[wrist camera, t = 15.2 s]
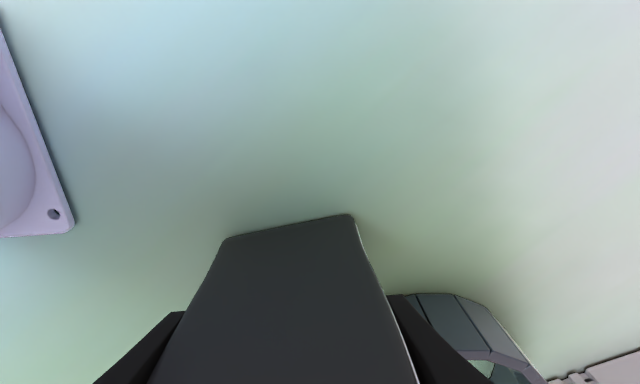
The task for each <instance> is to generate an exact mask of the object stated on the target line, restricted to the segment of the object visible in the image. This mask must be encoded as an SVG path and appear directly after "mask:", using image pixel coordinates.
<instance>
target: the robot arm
mask: <svg viewBox="0 0 640 384" xmlns="http://www.w3.org/2000/svg"><path fill="white" fill-rule="evenodd" d="M54 209H55V210H57V211H58V212H59V214H60V216H59V215H58V214H56V213H55V211H54ZM74 225H75V221H74V218H73V216H72V213H71V210H70V208H69V205H68V203H67V200H66V197H65V195H64V192H63V190H62V187H61V184H60V182H59V179H58V177H57V174H56V171H55V169H54V166H53V164H52V161H51V158H50V156H49V153H48V151H47V148H46V145H45V143H44V140H43V138H42V135H41V132H40V130H39V127H38V125H37V122H36V119H35V117H34V114H33V112H32V109H31V106H30V104H29V101H28V99H27V96H26V93H25V91H24V88H23V86H22V83H21V80H20V78H19V75H18V73H17V70H16V67H15V65H14V62H13V60H12V57H11V54H10V52H9V49H8V47H7V44H6V41H5V39H4V36H3V34H2V31H1V28H0V238H5V237H19V236H33V235H48V234H62V233H66V232H68V231H69V230H71V229H72V228H73V227H74ZM386 299H387V301H388V303H389V305H390V308H391V310H392V312H393V314H394V317H395V319H396V322H397V324H398V327H399V329H400V331H401V334H402V336H403V339H404V341H405V344H406V347H407V349H408V352H409V355H410V358H411V360H412V363H413V366H414V369H415V372H416V374H417V377H418V380H419V383H420V384H494V383H493V382H492V381H491V380H489V379H488V378H487V377H486V376H484V375H483V374H482V373H481V372H480V371H478V370H477V369H476V368H475V367H474V366H473V365H471V364H470V363H469V362H468V361H467V360H466V359H465V358H464V357H462V356H461V355H460V354H459V353H458V352H457V351H456V350H455V349H454V348H453V347H452V346H451V345H450V344H449V343H448V342H447V341H446V340H445V339H444V338H443V337H442V336H441V335H440V334H439V333H438V332H437V331H436V330H435V329H434V328H433V327H432V326H431V325H430V324H429V323H428V322H427V321H426V320H425V319H424V318H423V317H422V316H421V315H420V313H419V312H418V311H417V310H416V309H415V308H414V307H413V306H412V304H411V303H410V302H409V301H408V300H407V299H406V298H405V297H404V296H403V295H402V294H399V295H386ZM185 312H186V311H178V312H171V313H169V314H168V315H167V316H166V317H165V318H164V319H163V320H162V321H161V322H160V323H158V324H157V325H156V326H155V327H154V328H153V329H152V330H151V331H150V332H149V333H148V334H147V335H146V336H145V337H144V338H143V339H142V340H141V341H139V342H138V343H137V344H136V345H135V346H134V347H133V348H132V349H131V350H130V351H129V352H128V353H127V354H125V355H124V356H123V357H122V358H121V359H120V360H119V361H118V362H117V363H116V364H114V365H113V366H112V367H111V368H110V369H109V370H108V371H106V372H105V373H104V374H103V375H102V376H101V377H100V378H98V379H97V380H96V381H95V382H94V383H93V384H146V383H147V381H148V379H149V378H150V376H151V374H152V372H153V370H154V368H155V366H156V364H157V362H158V360H159V359H160V357H161V355H162V353H163V351H164V349H165V347H166V345H167V344H168V342H169V340H170V338H171V336H172V335H173V333H174V331H175V329H176V328H177V326H178V324H179V322H180V320H181V319H182V317H183V315H184V313H185Z"/></svg>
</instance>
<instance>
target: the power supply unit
mask: <svg viewBox="0 0 640 384" xmlns="http://www.w3.org/2000/svg"><path fill="white" fill-rule="evenodd" d="M548 383H549V384H640V351H638V352H635V353H632V354H629V355H626V356H623V357H620V358H617V359H614V360H611V361H608V362H605V363H602V364H599V365H596V366H593V367H590V368H587V369H586V371H585V373H582V374H578V373H574V374H570V375H568V378H567V379H565V380H562V381H561V380H560V379H556V380H553V381H549V382H548Z"/></svg>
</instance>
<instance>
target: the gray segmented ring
mask: <svg viewBox="0 0 640 384" xmlns="http://www.w3.org/2000/svg"><path fill="white" fill-rule="evenodd" d="M405 298H406V299H407V300H408V301H409V302H410V303H411V304H412V306H413V307H414V308H415V309H416V310H417V311H418V312H419V313H420V315H421V316H422V317H423V318H424V319H425V320H426V321H427V322H428V323H429V324H430V325H431V326H432V327H433V328H434V329H435V330H436V331H437V332H438V333H439V334H440V335H441V336H442V337H443V338H444V339H445V340H446V341H447V342H448V343H449V344H450V345H451V346H452V347H453V348H454V349H455V350H456V351H457V352H458V353H459V354H460V355H461V356H462V357H464V358H465V359H466V360H488V361H491V362H493V363H496V364H495V367H494V369H493V372H492V375H491V378H490V379H489V380H491V381H492V382H493V383H494V384H549V383H548V382H547V381H546V380H545V378H544V377H543V376H542V375H541V373H540V372H539V371H538V370H537V368H536V367H535V366H534V365H533V363H532V362H531V361H530V360H529V358H528V357H527V356H526V355H525V353H524V352H523V351H522V350H521V348H520V347H519V346H518V345H517V343H516V342H515V341H514V340H513V338H512V337H511V336H510V334H509V333H508V332H507V331H506V329H505V328H504V327H503V326H502V325H501V324H500V322H499V321H498V320H497V319H496V318H495V317H494V316H493V315H492V314H491V312H490V311H489V310H488V309H487V308H486V307H484V306H483V305H480V304H477V303H475V302H472V301H470V300H467V299H465V298H462V297H460V296H457V295H452V294H416V296H415V295H414V294H412V295H409V296H406V297H405Z"/></svg>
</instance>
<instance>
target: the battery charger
mask: <svg viewBox="0 0 640 384" xmlns="http://www.w3.org/2000/svg"><path fill="white" fill-rule="evenodd" d="M146 384H420V383H419V380H418V377H417V374H416V372H415V369H414V366H413V363H412V360H411V358H410V355H409V352H408V349H407V347H406V344H405V341H404V339H403V336H402V334H401V331H400V329H399V327H398V324H397V322H396V319H395V317H394V314H393V312H392V310H391V308H390V305H389V303H388V301H387V299H386V296H385V294H384V292H383V290H382V287H381V285H380V283H379V281H378V279H377V276H376V274H375V272H374V270H373V268H372V266H371V264H370V262H369V260H368V257H367V255H366V252H365V249H364V246H363V244H362V241H361V237H360V234H359V231H358V227H357V225H356V224H355V221H354V218H353V217H352V216H351V215H340V216H335V217H329V218H324V219H319V220H314V221H309V222H303V223H298V224H293V225H288V226H283V227H278V228H273V229H269V230H264V231H259V232H254V233H249V234H245V235H240V236H236V237H231V238H227V239H225V240H224V241H223V242H222V244H221V246H220V248H219V251H218V253H217V255H216V257H215V259H214V261H213V263H212V265H211V267H210V269H209V271H208V273H207V275H206V277H205V279H204V281H203V282H202V284H201V286H200V288H199V289H198V291H197V293H196V294H195V296H194V298H193V299H192V301H191V303H190V305H189V306H188V308H187V310H186V312H185V313H184V315H183V317H182V319H181V320H180V322H179V324H178V326H177V328H176V329H175V331H174V333H173V335H172V336H171V338H170V340H169V342H168V344H167V345H166V347H165V349H164V351H163V353H162V355H161V357H160V359H159V360H158V362H157V364H156V366H155V368H154V370H153V372H152V374H151V376H150V378H149V379H148V381H147V383H146Z"/></svg>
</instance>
